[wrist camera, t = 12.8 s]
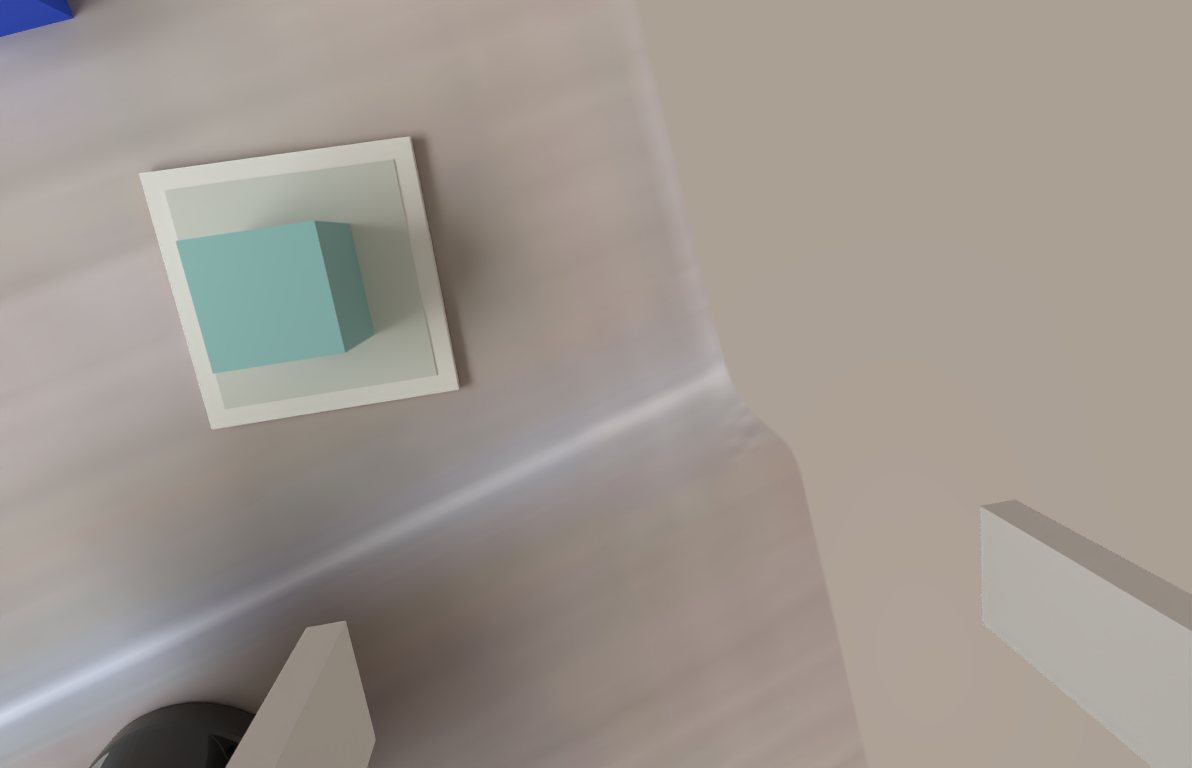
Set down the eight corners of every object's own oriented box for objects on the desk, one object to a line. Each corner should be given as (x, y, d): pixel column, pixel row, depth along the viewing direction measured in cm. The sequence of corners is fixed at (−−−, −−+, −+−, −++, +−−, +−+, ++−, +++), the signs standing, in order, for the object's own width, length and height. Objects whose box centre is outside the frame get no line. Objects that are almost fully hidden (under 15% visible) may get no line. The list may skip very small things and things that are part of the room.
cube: (263, 352, 43) (212, 373, 36) (234, 240, 41) (175, 240, 34) (374, 334, 43) (345, 352, 36) (349, 223, 42) (314, 220, 35)
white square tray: (217, 426, 44) (210, 430, 43) (146, 174, 41) (137, 173, 40) (459, 387, 45) (458, 390, 44) (411, 138, 42) (408, 136, 41)
